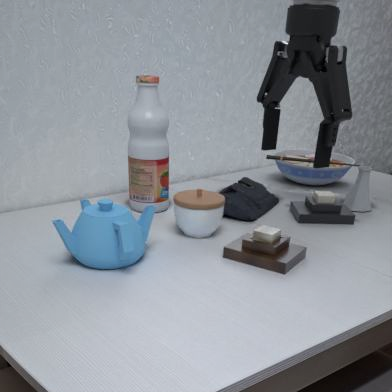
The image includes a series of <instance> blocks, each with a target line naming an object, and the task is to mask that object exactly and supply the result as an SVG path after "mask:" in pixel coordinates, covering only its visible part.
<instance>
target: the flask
mask: <svg viewBox="0 0 392 392" xmlns="http://www.w3.org/2000/svg"><path fill="white" fill-rule="evenodd" d="M357 167H358V169H357V170H358V172H357V173H358V174H357V177H356V179H355V181H354V184H353V186H352V187H351V189H350V191H349V192H348V194H347V195H346V197H345V199H344V201H342V202H343V203H344V204H345V205H346V206H347V207H348V208H349V209H350V210H351V211H352V212H360V213H361V212H363V213H365V212H371V211H372V209H373V207H372V202H371V193H370V175H371V172H372V171H373V168H372V167H371V166H366V165H362V166H361V165H360V166H357Z"/></svg>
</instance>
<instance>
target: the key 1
mask: <svg viewBox="0 0 392 392" xmlns="http://www.w3.org/2000/svg"><path fill="white" fill-rule="evenodd" d="M252 233H253V240H257V241H261V242H265V243H269V244H274V243H275V242H277V241H278V240H279V239H280V237H281V235H282V228H278V227H273V226H269V225H264V224H261V226H259V227H257V228H255V229H254V230H253V231H252Z"/></svg>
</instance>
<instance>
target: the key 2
mask: <svg viewBox="0 0 392 392" xmlns="http://www.w3.org/2000/svg"><path fill="white" fill-rule="evenodd" d="M312 196H313V200H314V201H315V202H316V203H331V204H334V201H335V198H336V194H334V193H333V192H332V191H329V190H314V191H313V195H312Z"/></svg>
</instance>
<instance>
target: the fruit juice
mask: <svg viewBox="0 0 392 392" xmlns="http://www.w3.org/2000/svg"><path fill="white" fill-rule="evenodd" d="M135 84H136V86H137V92H136V93H137V94H136V98H135V100H134V105H133V106H132V108H131V109H130V111H129V112H128V114H127V120H126V121H127V123H126V124H127V128H128V132H129V139H128V142H127V167H128V168H127V169H128V196H129V206H130V209H132V211H136V212H139V213H143V211H144V209H145V208H146V206H148V205H154V206H155V207H156V209H155V213H161V212H164V211H167V209H169V205H170V144H169V141H168V137H167V135H168V130H169V126H170V123H169V116H168V114H167V112H166V110H165V109H164V108H163V105H162V104H161V103H162V102H161V100H160V96H159V88H158V87H159V86H160V76H159V75H150V74H139V75H138V74H137V75H136V76H135ZM155 213H154V214H155Z"/></svg>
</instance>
